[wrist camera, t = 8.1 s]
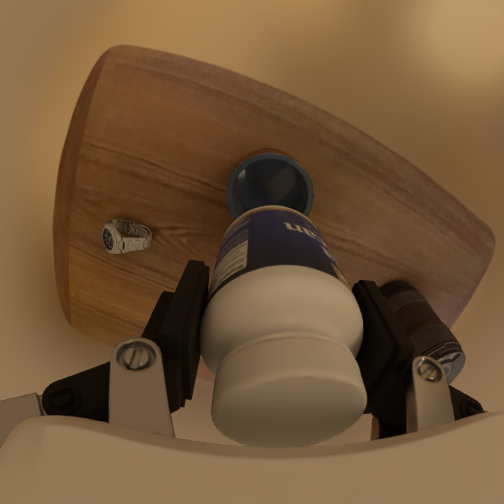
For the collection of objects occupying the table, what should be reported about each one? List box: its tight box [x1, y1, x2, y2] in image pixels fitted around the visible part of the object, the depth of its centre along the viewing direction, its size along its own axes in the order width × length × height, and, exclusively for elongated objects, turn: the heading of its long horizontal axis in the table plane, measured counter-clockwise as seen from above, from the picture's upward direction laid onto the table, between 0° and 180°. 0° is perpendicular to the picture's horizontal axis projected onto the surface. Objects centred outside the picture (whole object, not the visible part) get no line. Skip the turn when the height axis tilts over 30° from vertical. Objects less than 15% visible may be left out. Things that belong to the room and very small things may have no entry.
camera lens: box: [379, 281, 465, 385], centre depth 29 cm, size 8×8×15 cm
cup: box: [226, 148, 314, 220], centre depth 26 cm, size 8×8×6 cm
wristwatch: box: [102, 219, 152, 254], centre depth 29 cm, size 4×6×5 cm, turn 74°
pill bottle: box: [199, 205, 367, 447], centre depth 10 cm, size 5×5×10 cm
